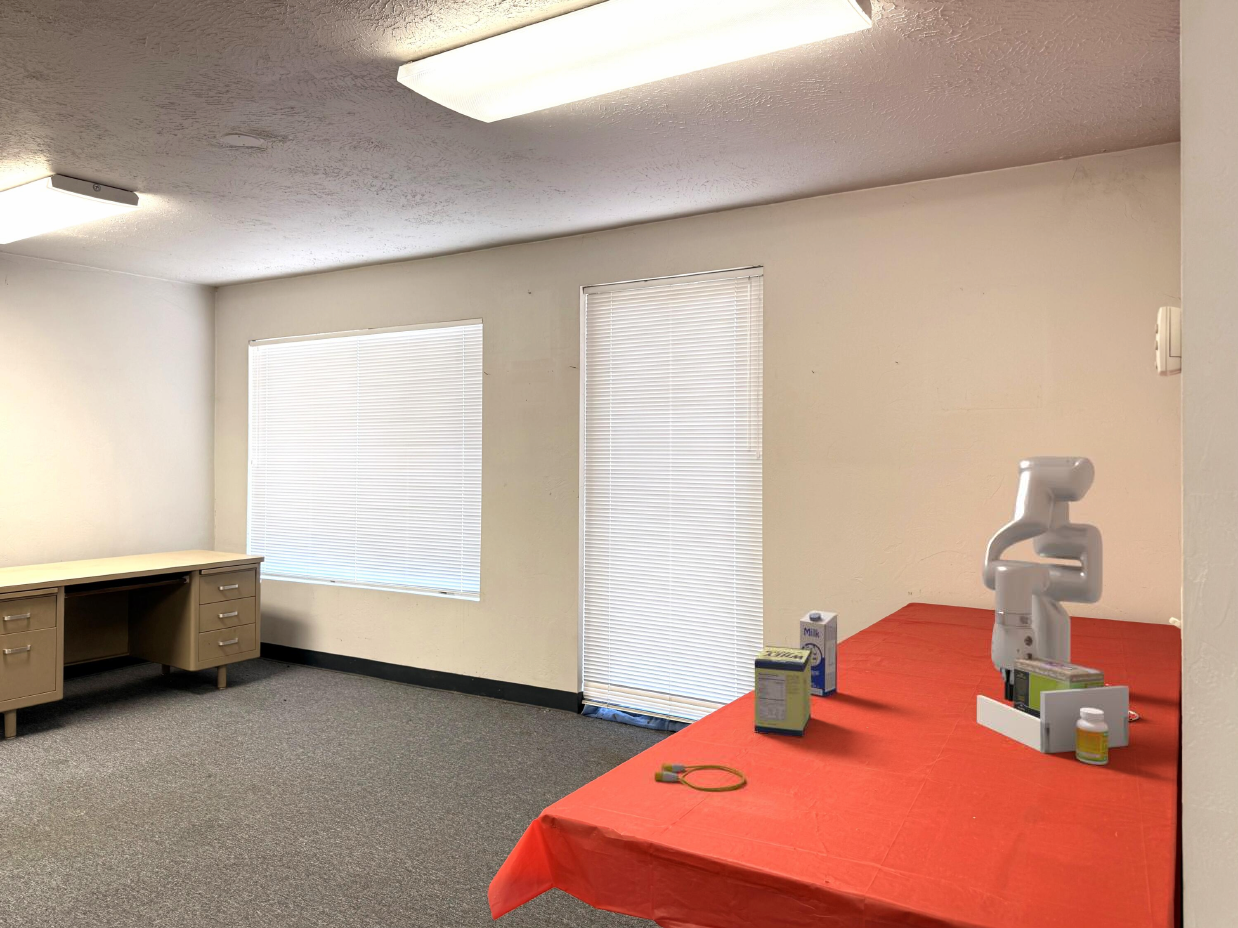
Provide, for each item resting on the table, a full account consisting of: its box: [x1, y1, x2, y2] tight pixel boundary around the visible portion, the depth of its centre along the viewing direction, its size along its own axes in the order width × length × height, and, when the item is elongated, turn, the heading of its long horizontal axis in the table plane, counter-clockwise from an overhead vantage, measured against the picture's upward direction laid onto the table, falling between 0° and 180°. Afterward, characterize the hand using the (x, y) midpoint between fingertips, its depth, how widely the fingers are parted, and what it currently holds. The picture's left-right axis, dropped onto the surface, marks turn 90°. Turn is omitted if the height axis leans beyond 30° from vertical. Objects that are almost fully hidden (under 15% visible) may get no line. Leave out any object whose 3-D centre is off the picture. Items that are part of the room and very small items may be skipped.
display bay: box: [976, 685, 1130, 754], centre depth 176 cm, size 20×20×12 cm
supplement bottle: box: [1075, 708, 1109, 766], centre depth 160 cm, size 5×5×10 cm
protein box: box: [754, 645, 812, 738], centre depth 181 cm, size 10×16×16 cm
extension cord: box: [654, 763, 746, 792], centre depth 150 cm, size 12×16×2 cm
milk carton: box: [798, 609, 838, 698], centre depth 207 cm, size 7×7×20 cm
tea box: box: [1013, 657, 1105, 719], centre depth 176 cm, size 15×10×15 cm
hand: (1012, 699), depth 187 cm, fingers closed
